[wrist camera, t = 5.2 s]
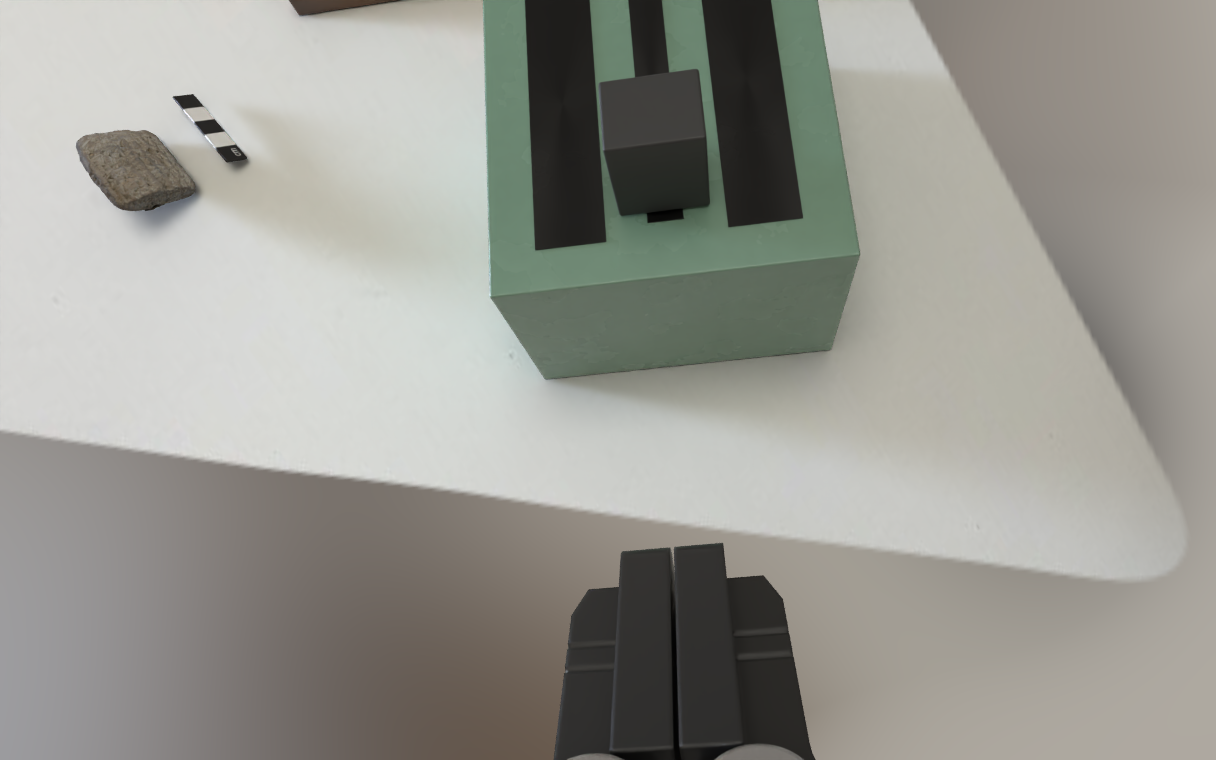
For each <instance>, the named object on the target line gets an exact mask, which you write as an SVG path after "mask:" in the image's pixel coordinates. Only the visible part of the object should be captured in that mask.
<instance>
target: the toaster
mask: <svg viewBox="0 0 1216 760" xmlns="http://www.w3.org/2000/svg"><path fill="white" fill-rule="evenodd" d="M483 20H484V63H485V106H486V149H487V191H488V234H489V277H490V297H491V299H492V300H493V302H494V303H495V305H496V306H497V308H498V309H499V311H500V312H501V314H502V315H503V317H504V318H505V320H506V321H507V323H508V324H509V326H510V327H511V329H512V330H513V332H514V333H515V335H516V336H517V338H518V339H519V341H520V342H521V344H522V345H523V347H524V348H525V350H526V351H527V353H528V354H529V356H530V357H531V359H532V360H533V362H534V363H535V365H536V366H537V368H538V369H539V371H540V372H541V374H542V375H543V377H544V378H545V379H553V378H563V377H573V376H582V375H592V374H602V373H611V372H621V371H630V370H640V369H650V368H659V367H669V366H679V365H688V364H698V363H708V362H717V361H727V360H737V359H746V358H756V357H765V356H775V355H785V354H794V353H804V352H814V351H823V350H830V349H831V348H832V345H833V341H834V338H835V335H836V332H837V328H838V325H839V322H840V318H841V315H842V312H843V309H844V305H845V302H846V299H847V296H848V292H849V289H850V286H851V282H852V279H853V276H854V273H855V269H856V266H857V263H858V260H859V256H860V249H859V243H858V237H857V231H856V225H855V219H854V213H853V207H852V202H851V196H850V190H849V184H848V178H847V172H846V166H845V160H844V154H843V148H842V142H841V136H840V130H839V124H838V118H837V112H836V106H835V100H834V94H833V89H832V83H831V77H830V71H829V65H828V59H827V53H826V47H825V41H824V35H823V29H822V23H821V17H820V11H819V5H818V0H483ZM691 69H698V71H699V75H700V83H701V92H702V101H703V110H704V119H705V128H706V136H707V155H708V173H709V192H710V204H709V205H706V206H698V207H690V208H681V209H673V210H665V211H657V212H649V213H641V214H633V215H625V216H621V215H620V214H619V211H618V207H617V203H616V200H615V196H614V192H613V188H612V184H611V180H610V176H609V172H608V168H607V165H606V161H605V157H604V153H603V145H602V131H601V117H600V103H599V89H598V85H599V83H600V82H605V81H612V80H619V79H626V78H633V77H641V76H648V75H655V74H662V73H669V72H676V71H683V70H691Z"/></svg>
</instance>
